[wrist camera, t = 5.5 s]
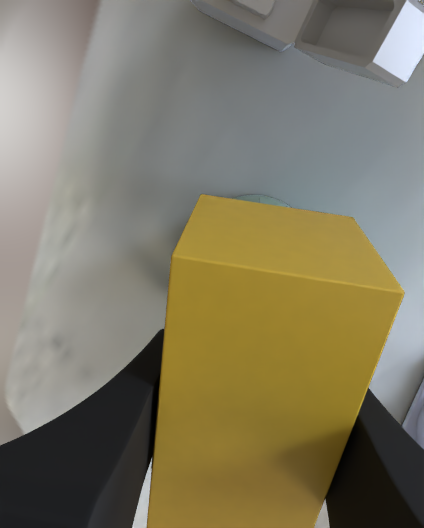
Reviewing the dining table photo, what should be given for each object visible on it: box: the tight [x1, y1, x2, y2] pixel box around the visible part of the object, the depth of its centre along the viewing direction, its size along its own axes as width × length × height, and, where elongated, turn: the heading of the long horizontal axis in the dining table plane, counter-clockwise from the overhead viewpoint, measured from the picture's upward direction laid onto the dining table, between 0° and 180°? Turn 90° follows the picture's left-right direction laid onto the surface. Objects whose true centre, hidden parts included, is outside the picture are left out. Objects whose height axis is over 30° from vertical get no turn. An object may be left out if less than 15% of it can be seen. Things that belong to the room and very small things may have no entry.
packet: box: [147, 194, 405, 528], centre depth 12 cm, size 10×5×5 cm, turn 173°
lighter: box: [191, 0, 424, 88], centre depth 13 cm, size 7×2×8 cm, turn 66°
